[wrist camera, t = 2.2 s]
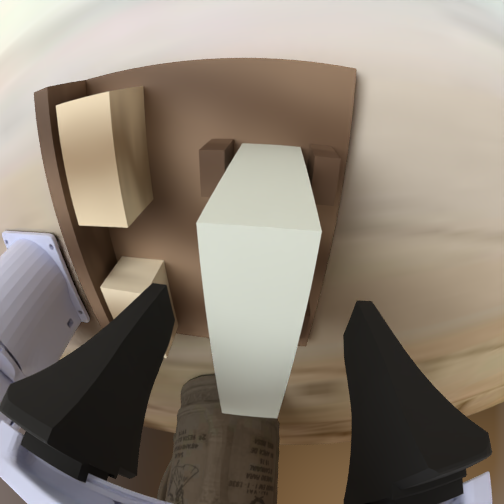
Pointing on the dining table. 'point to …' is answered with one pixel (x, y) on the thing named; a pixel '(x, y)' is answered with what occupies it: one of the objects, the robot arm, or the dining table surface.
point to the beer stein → (220, 452)
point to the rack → (204, 162)
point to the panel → (258, 273)
